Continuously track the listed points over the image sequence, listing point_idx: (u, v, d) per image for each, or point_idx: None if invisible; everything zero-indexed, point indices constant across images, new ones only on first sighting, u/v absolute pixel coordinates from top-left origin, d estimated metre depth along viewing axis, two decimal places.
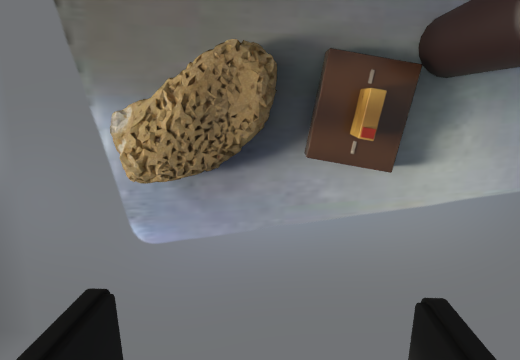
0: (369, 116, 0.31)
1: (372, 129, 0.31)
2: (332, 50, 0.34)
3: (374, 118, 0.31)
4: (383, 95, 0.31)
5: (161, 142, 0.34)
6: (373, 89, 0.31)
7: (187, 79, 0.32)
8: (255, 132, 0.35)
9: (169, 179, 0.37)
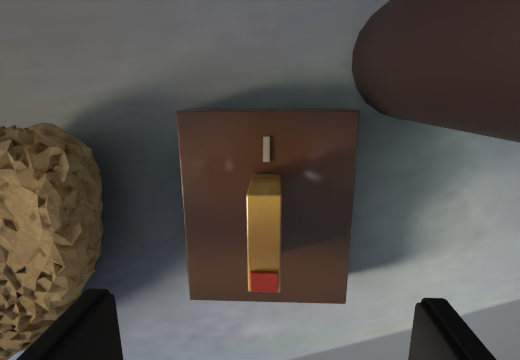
0: (258, 249, 0.15)
1: (269, 274, 0.15)
2: (181, 114, 0.17)
3: (269, 252, 0.15)
4: (276, 206, 0.14)
5: None
6: (252, 198, 0.14)
7: None
8: (74, 287, 0.19)
9: None
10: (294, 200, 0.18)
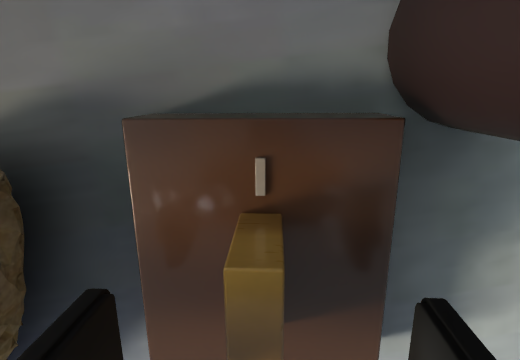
0: (245, 355, 0.09)
1: None
2: (130, 124, 0.11)
3: (264, 359, 0.09)
4: (275, 287, 0.08)
5: None
6: (233, 273, 0.08)
7: None
8: None
9: None
10: (302, 251, 0.12)
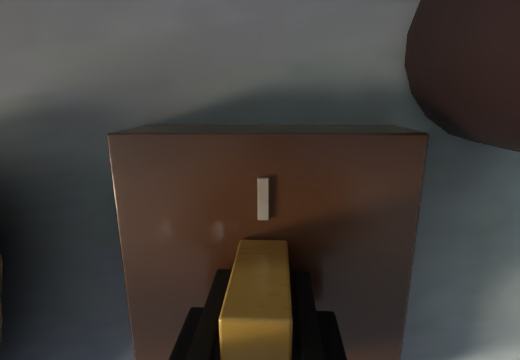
0: None
1: None
2: (116, 139, 0.10)
3: None
4: (281, 341, 0.07)
5: None
6: (230, 324, 0.07)
7: None
8: None
9: None
10: None
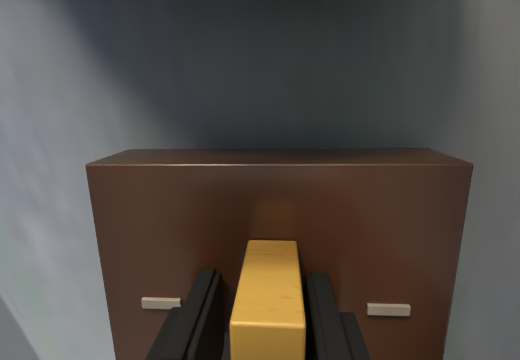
0: None
1: None
2: (466, 174, 0.09)
3: None
4: (294, 347, 0.07)
5: None
6: (242, 329, 0.07)
7: None
8: None
9: None
10: None
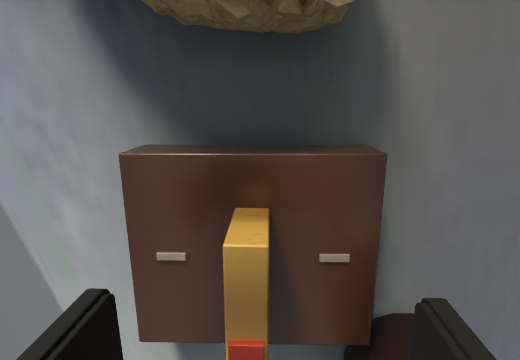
0: (239, 314, 0.11)
1: (253, 347, 0.11)
2: (382, 161, 0.14)
3: (254, 317, 0.11)
4: (262, 259, 0.11)
5: None
6: (230, 249, 0.11)
7: None
8: None
9: None
10: (270, 286, 0.16)
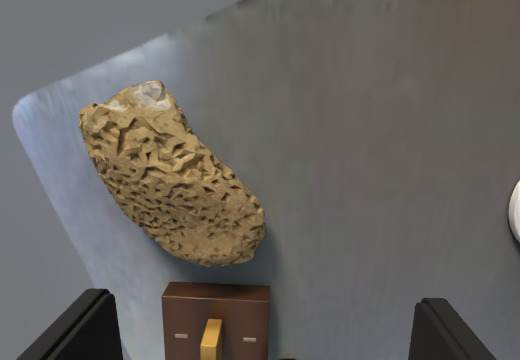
0: None
1: None
2: (267, 304, 0.35)
3: None
4: (213, 350, 0.32)
5: (131, 163, 0.28)
6: (203, 346, 0.32)
7: (210, 184, 0.29)
8: None
9: (94, 162, 0.30)
10: (223, 349, 0.37)
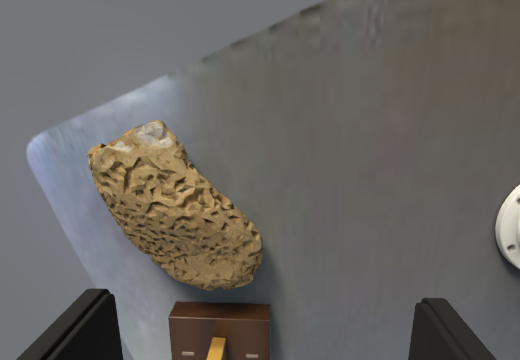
0: None
1: None
2: (268, 322, 0.37)
3: None
4: None
5: (136, 198, 0.30)
6: None
7: (210, 216, 0.31)
8: (176, 279, 0.34)
9: None
10: None
